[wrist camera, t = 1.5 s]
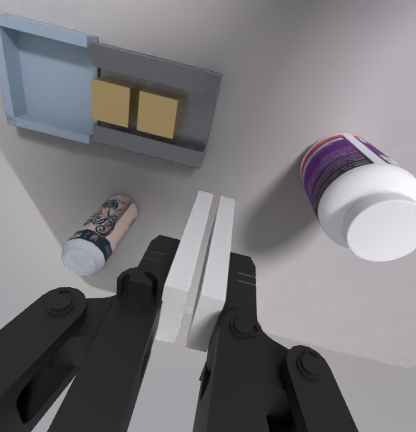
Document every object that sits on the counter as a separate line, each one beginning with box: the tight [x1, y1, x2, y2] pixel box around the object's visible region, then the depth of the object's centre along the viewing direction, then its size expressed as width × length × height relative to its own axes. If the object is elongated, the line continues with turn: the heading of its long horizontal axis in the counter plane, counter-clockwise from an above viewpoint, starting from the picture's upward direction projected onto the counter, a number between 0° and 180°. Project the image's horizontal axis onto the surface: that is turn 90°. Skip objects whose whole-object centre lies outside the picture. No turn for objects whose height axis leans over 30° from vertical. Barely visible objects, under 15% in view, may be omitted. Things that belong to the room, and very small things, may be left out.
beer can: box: [62, 195, 138, 276], centre depth 34 cm, size 5×5×12 cm
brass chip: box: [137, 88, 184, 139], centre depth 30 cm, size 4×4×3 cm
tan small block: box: [92, 76, 140, 128], centre depth 30 cm, size 4×4×3 cm
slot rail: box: [92, 43, 222, 169], centre depth 31 cm, size 10×13×2 cm
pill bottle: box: [300, 133, 416, 262], centre depth 26 cm, size 8×8×14 cm
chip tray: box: [0, 13, 99, 144], centre depth 31 cm, size 11×10×2 cm
